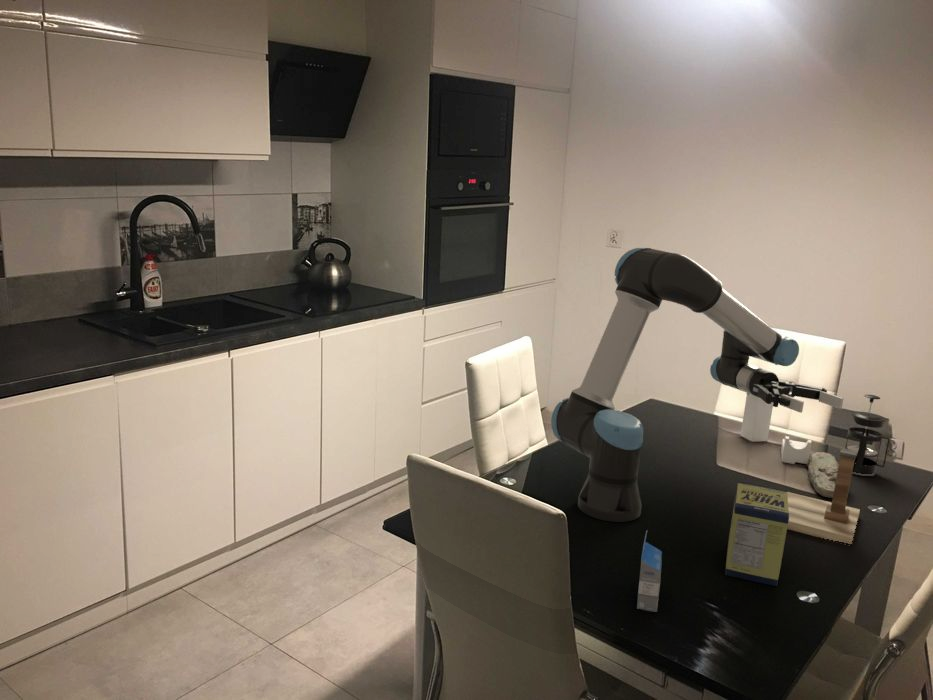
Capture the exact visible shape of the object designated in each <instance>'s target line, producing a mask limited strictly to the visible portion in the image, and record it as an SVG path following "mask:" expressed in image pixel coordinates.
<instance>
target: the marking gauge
mask: <svg viewBox="0 0 933 700" xmlns="http://www.w3.org/2000/svg"><path fill="white" fill-rule="evenodd" d="M856 455H857V451H853V450H848V449H847V448H846V449H845V448H844V447H843V448H841V449H840V451H839V461H838V462H839V467H838V472H837V478H836V483H835V488H834V494H833V498H831V503H832V505H829V504H828V505H827V508H826V511H825V516H824V519H828V520H832V521H836V522H840V523H843V524H847V521H848V518H849V512H850V510H849V509H845V508H846V506H847V502H848V497H849V493H850V492H849V491H850V485H851V480H852V476H853V474H852V471H853V466H854V461H855V458H856Z"/></svg>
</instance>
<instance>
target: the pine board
mask: <svg viewBox="0 0 933 700" xmlns="http://www.w3.org/2000/svg"><path fill="white" fill-rule="evenodd" d="M787 497H788V510H789V521H788V526H787V530H790V531H794V532H798V533H801V534H805V535H808V536H809V535H810V536H812V537H816V538H819V537H820V538H821V539H823V538H824V540H827V539H829V540H828V541H831V540H833V541H832V542H835V541H839V542H844V543H848V544H852V545H853V542H852V541H854V538H853V537H854V536H855V534H856V530H855V529H856V528H857V526H856V525H858V522H857V521H859V517H860V511H861V509H860V508H856V507H851V506H847V505H846V508H845V509H849V510H850V512H849V518H848V521H847V524H843V523H840V522H836V521H832V520H828V519H824V516H825V511H826V508H827V505H828V504H829V505H832V501H826V500H822V499H818V498H814V497H810V496H806V495H801V494H799V493H798V494H797V493H793V492H790V491H787ZM854 533H855V534H854Z"/></svg>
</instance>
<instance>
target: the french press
mask: <svg viewBox="0 0 933 700" xmlns="http://www.w3.org/2000/svg"><path fill="white" fill-rule="evenodd" d="M863 396H864V397H865V398H867V399H869V403H870V404H869V408H868V412H867V411H852V412H851V416H852V418H853V420H854V422H855V423H856V425H859V426H862V427H859V426H854V427H852V426H851V427H849V428H848V432H847V436H846V440H845V441H846V442H845V447H844V449H848V450H853V451H857V455H856V458H855V461H854V466H853V471H852V472H856V473H861V474H872V473H875V472H876V473H877V467H879V468H884V467H885V465H886V460H887V455H888V449H889V444H890V439H891V438H890V436H885V435H883V434H882V432H880V431H877V430H873V429H871V428H877V429H878V428H879V429H880V428H882V427H883V426H884V422H886V417H885V416H882V415H880V414H876V413H873V412H871V410H872V404H873V403H874V401H875V400H881V397H880V396H877V395H874V394H864V395H863ZM855 432H856V433H855ZM858 432H859V433H861V434H858ZM869 435H872V436H869ZM849 436H850V437H852V438H854V439H857V440H859V445H854V444H853V445H848V440H849ZM883 439H886V440H887V444H886V447H885V448H886V449H885V453H884V460H883V464H882V463H879V462H878V461H879V457H880V451H881V446H882V442H883V441H882V440H883ZM868 442H872V443H873V442H874V443H877V442H879V447H878V451H876V450H874V449H872V448H869V447H867V445H868ZM875 457H877V458H876V461H875V460H874V459H871V458H875ZM855 463H856V464H855ZM865 465H866V466H865Z"/></svg>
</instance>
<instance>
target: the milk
mask: <svg viewBox="0 0 933 700" xmlns="http://www.w3.org/2000/svg"><path fill="white" fill-rule="evenodd" d="M773 408H774V406H773V402H771V404H767V403H766V402H764V401H763V400H762V399H761V398H759V397H756V396H754V395H751V394H750V395H747V394H746V398H745V405H744V409H743V418H742V423H741V429H740V437H742V438H744V439H746V440H747V441H749V442H753V443H754V442H768V439H769V431H770V426H771V419H772V415H773Z"/></svg>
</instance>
